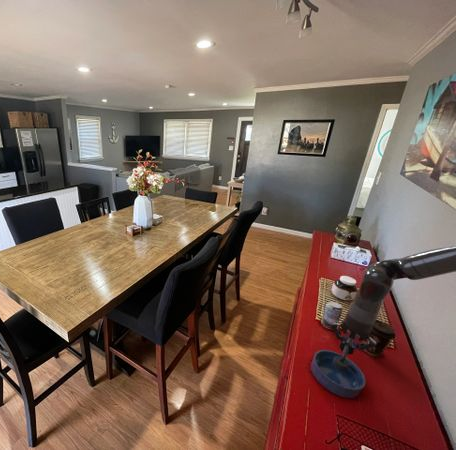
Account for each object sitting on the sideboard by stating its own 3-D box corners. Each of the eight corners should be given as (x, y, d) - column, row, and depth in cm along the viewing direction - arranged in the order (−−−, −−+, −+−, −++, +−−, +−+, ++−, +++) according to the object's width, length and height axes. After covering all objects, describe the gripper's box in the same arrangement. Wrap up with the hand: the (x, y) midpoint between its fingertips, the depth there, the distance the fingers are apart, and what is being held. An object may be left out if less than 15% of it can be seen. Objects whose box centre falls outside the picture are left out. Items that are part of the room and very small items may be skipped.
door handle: (345, 373, 85) (352, 360, 83) (331, 365, 88) (337, 351, 86) (353, 348, 95) (359, 335, 93) (339, 341, 98) (345, 329, 96)
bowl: (363, 378, 88) (368, 369, 86) (356, 409, 78) (361, 399, 76) (316, 352, 98) (320, 343, 96) (305, 376, 88) (308, 367, 86)
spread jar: (332, 299, 129) (339, 281, 125) (326, 287, 139) (332, 270, 135) (359, 304, 126) (367, 286, 121) (350, 291, 136) (358, 274, 131)
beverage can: (323, 330, 109) (331, 309, 104) (317, 318, 116) (324, 298, 111) (338, 333, 108) (347, 312, 103) (332, 321, 114) (340, 301, 110)
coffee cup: (361, 338, 105) (372, 315, 100) (386, 351, 100) (399, 327, 95) (356, 348, 100) (367, 325, 95) (382, 362, 94) (395, 338, 89)
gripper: (335, 310, 86) (321, 346, 92) (386, 332, 77) (366, 370, 83) (340, 301, 91) (326, 335, 97) (388, 320, 82) (369, 357, 88)
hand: (345, 351), depth 90 cm, fingers closed on door handle, 1 cm apart
